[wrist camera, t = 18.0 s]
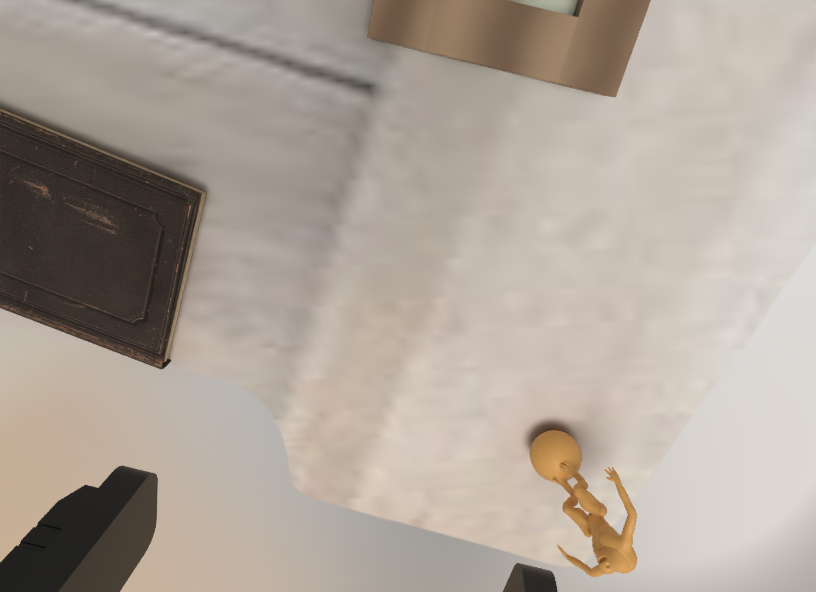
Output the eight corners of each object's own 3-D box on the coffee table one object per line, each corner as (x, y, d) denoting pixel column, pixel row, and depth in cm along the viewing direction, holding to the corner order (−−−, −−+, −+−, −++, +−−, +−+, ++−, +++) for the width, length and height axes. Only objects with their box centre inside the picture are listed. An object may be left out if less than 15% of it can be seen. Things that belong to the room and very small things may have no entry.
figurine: (550, 393, 42) (581, 507, 31) (619, 416, 42) (675, 537, 31) (510, 468, 45) (526, 595, 34) (574, 489, 45) (611, 622, 34)
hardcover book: (-94, 61, 37) (-128, 61, 35) (214, 187, 38) (200, 194, 36) (-91, 258, 43) (-119, 267, 41) (173, 359, 45) (159, 373, 43)
